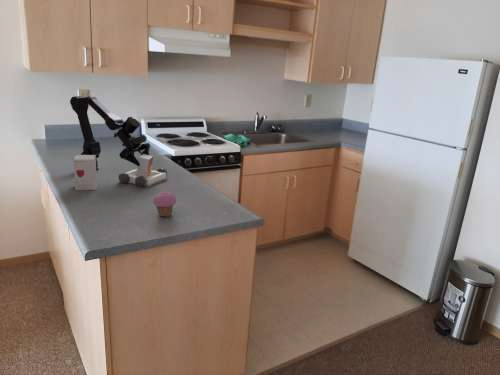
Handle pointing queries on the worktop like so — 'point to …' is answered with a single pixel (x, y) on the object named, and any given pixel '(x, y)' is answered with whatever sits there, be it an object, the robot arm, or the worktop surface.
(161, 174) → the chassis
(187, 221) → the worktop surface
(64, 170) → the worktop surface
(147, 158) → the small box
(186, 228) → the worktop surface
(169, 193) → the cupcake
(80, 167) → the supplement box
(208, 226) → the worktop surface
